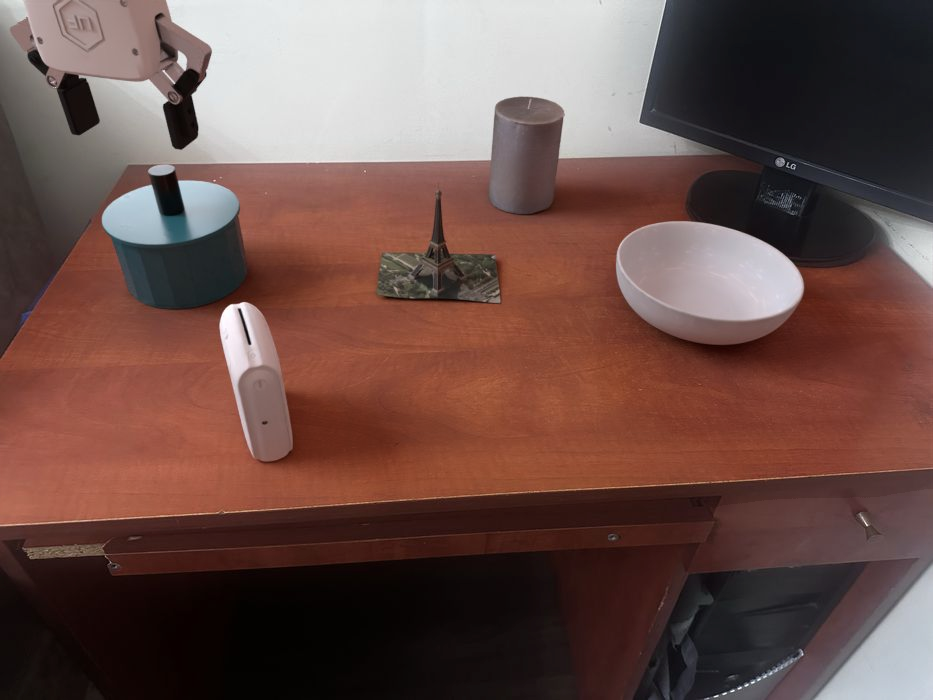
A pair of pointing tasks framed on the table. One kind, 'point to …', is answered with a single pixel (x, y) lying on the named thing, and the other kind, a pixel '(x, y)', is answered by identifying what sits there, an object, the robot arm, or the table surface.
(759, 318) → the serving bowl
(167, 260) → the pot
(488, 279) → the eiffel tower figurine
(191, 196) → the lid
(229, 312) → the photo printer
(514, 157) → the pillar candle
